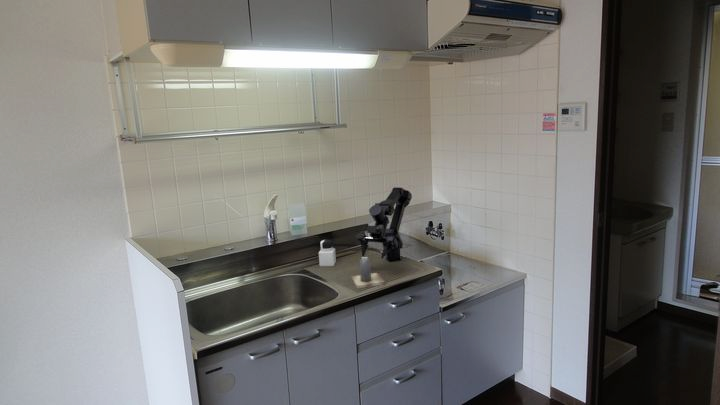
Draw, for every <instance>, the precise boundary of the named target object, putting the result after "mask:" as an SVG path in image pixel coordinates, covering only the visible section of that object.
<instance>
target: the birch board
mask: <svg viewBox="0 0 720 405" xmlns="http://www.w3.org/2000/svg"><path fill="white" fill-rule="evenodd" d="M350 279H351V281H352V283H353V284H354V285H355V287H356V288H357V289H364V288H369V287H371V288H372V287H377V285H378V286H383V285H382V284H386V282H385V280H384V279H383V278H382V277H381V275H380V274H378V273H377V272H375V273H371V281H369V282H362V281H361V279H360V275H359V274H358V275H351V276H350Z"/></svg>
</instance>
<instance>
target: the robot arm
mask: <svg viewBox="0 0 720 405" xmlns="http://www.w3.org/2000/svg"><path fill="white" fill-rule="evenodd" d="M412 195H413V194H412V193H411V192H410V191H409V190H408V189H404V188H403V187H398V186H397V187H392V189H391V192H390V193H389V195H388V196H387V197H386V199H385V200H381V201H380V202H376V203H375V204H373V205H372V206H371V207H370V208H369V209H368V212H369V214H370V216H371V217H372V220H374V221H375V223H374V225H373V224H372V225H367V232H366V233H367V234H369V237H368V236H367V235H366V234H365V233H358V234H356V236H355V240H356V242H358V244H359V245H360V247H361V257H365V256H366V252H367V249H368V247H369V246H368V244H369V243H380V244H382V247H383V249H382V252H381V256H380V259H382V260H383V259H384V258H385V260H387V261H388V262H390V263H391V262H397V261H402V260H403V259H402V258H401V249H403V247H404V246H403V245H404V243H403V240H402V239H401V235H400V228H401V225H402V220H403V217H404V214H405V209H406V207H408V206H409V205H410V202H411V201H412V197H413V196H412ZM388 216H390V217H391V216H392V218H391V222H390V219H389V217H388ZM388 224H389V225H388ZM388 226H389V227H388Z"/></svg>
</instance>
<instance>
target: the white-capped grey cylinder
mask: <svg viewBox="0 0 720 405" xmlns="http://www.w3.org/2000/svg"><path fill="white" fill-rule="evenodd" d="M371 268H372V267H371V259H370V258H369V257H368V256H364V257H363V256H361V259H359V273H360V279H361V281H362V282H369V281H371V274H372V271H371Z"/></svg>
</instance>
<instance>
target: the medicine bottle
mask: <svg viewBox="0 0 720 405" xmlns="http://www.w3.org/2000/svg"><path fill="white" fill-rule="evenodd" d="M333 243H334V242H333V240H331V239H323V240H321V241H320V243H319V244H320V250H319V251H318V264H319V267H334V266H335V264H336V262H337V259H336V258H337V256H336V255H337V254H336V247H335V248H334V244H333Z"/></svg>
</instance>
